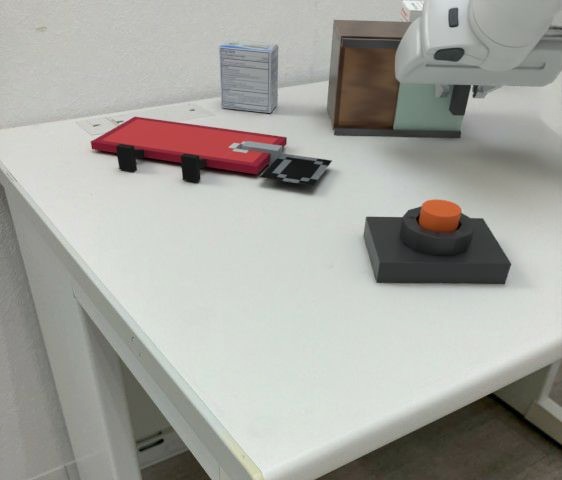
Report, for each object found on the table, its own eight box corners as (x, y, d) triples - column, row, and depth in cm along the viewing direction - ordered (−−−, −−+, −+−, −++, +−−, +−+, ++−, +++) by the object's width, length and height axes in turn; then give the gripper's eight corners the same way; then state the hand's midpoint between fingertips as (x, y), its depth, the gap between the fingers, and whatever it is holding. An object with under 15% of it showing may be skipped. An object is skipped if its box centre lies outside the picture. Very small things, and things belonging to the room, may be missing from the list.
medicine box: (278, 105, 92) (279, 43, 86) (270, 114, 89) (271, 50, 83) (229, 100, 93) (228, 38, 88) (220, 108, 90) (218, 45, 84)
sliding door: (458, 129, 84) (477, 45, 77) (464, 137, 82) (484, 51, 75) (392, 128, 84) (405, 43, 77) (396, 136, 82) (410, 49, 75)
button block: (477, 237, 61) (487, 201, 59) (504, 284, 55) (517, 245, 52) (363, 236, 61) (368, 199, 58) (376, 283, 54) (382, 244, 52)
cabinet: (441, 110, 93) (458, 23, 85) (460, 137, 84) (481, 42, 76) (326, 108, 92) (333, 19, 84) (334, 135, 83) (342, 38, 75)
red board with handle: (308, 199, 66) (340, 155, 77) (309, 175, 64) (342, 133, 75) (75, 162, 73) (136, 126, 84) (71, 139, 71) (133, 105, 82)
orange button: (451, 216, 57) (456, 199, 56) (461, 234, 54) (466, 216, 53) (415, 216, 57) (418, 198, 56) (422, 234, 54) (426, 216, 53)
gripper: (591, 1, 67) (533, 72, 80) (412, -4, 66) (384, 68, 80) (593, 55, 66) (534, 117, 80) (412, 50, 65) (385, 113, 79)
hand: (458, 93), depth 80 cm, fingers open, 4 cm apart
